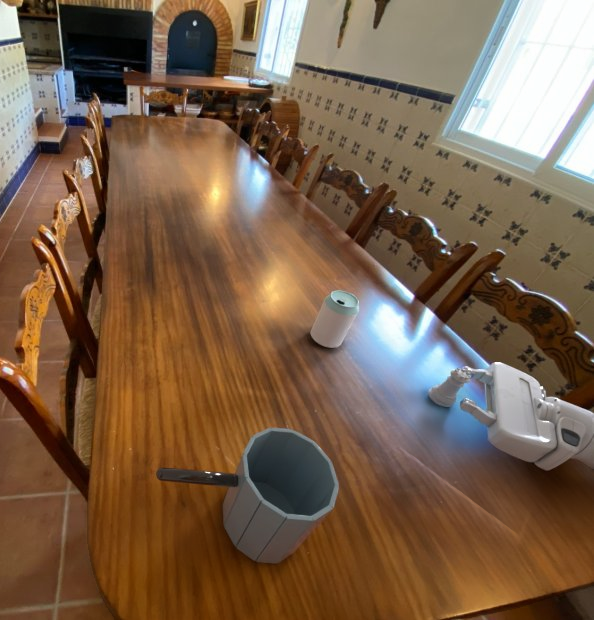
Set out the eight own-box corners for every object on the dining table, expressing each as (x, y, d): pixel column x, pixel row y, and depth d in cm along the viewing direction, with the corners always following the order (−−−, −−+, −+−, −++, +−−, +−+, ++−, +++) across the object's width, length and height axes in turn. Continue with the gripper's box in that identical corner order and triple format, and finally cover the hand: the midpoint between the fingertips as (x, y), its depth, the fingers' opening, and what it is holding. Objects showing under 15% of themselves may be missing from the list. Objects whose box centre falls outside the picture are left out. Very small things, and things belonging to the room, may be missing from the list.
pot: (290, 483, 56) (323, 432, 47) (306, 566, 48) (351, 524, 38) (156, 471, 56) (161, 417, 47) (149, 552, 48) (153, 506, 38)
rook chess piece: (432, 386, 74) (454, 360, 69) (455, 400, 71) (480, 374, 66) (423, 396, 72) (446, 370, 66) (447, 412, 69) (472, 386, 64)
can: (343, 352, 80) (366, 311, 72) (311, 346, 81) (330, 305, 73) (337, 331, 85) (358, 291, 78) (307, 326, 86) (325, 285, 78)
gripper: (556, 374, 67) (471, 343, 73) (579, 460, 54) (473, 413, 59) (531, 395, 71) (453, 363, 77) (547, 479, 58) (451, 434, 63)
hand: (461, 386), depth 68 cm, fingers open, 8 cm apart
